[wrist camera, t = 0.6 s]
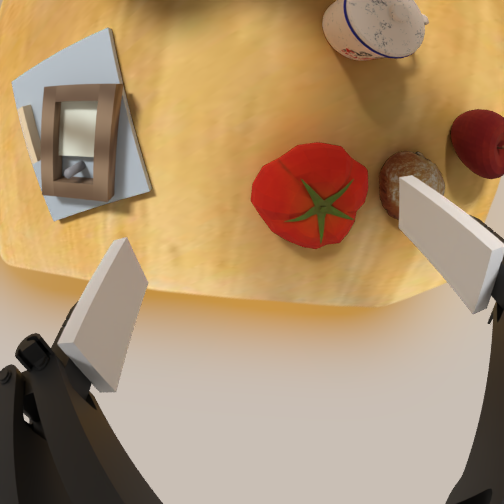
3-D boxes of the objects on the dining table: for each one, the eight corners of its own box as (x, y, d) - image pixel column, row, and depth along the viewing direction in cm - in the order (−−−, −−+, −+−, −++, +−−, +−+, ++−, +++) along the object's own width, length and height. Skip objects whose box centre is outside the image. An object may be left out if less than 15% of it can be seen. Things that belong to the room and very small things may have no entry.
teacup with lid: (332, 68, 30) (375, 61, 19) (309, 3, 25) (341, -29, 15) (412, 56, 28) (469, 55, 18) (392, -4, 24) (443, -24, 14)
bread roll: (422, 161, 40) (454, 152, 32) (424, 226, 40) (457, 227, 32) (369, 152, 39) (398, 138, 31) (370, 223, 40) (400, 222, 32)
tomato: (267, 243, 41) (275, 280, 33) (237, 156, 35) (239, 176, 27) (361, 213, 40) (389, 244, 32) (344, 126, 33) (374, 137, 26)
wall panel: (16, 81, 25) (-6, 84, 21) (111, 29, 25) (95, 22, 20) (57, 217, 37) (41, 233, 32) (152, 188, 36) (141, 202, 32)
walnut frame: (54, 85, 26) (44, 86, 24) (123, 83, 28) (116, 83, 26) (51, 188, 33) (42, 195, 31) (114, 195, 34) (107, 202, 32)
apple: (486, 122, 32) (531, 137, 24) (468, 173, 37) (510, 196, 28) (450, 92, 30) (498, 101, 22) (431, 149, 35) (475, 170, 26)
